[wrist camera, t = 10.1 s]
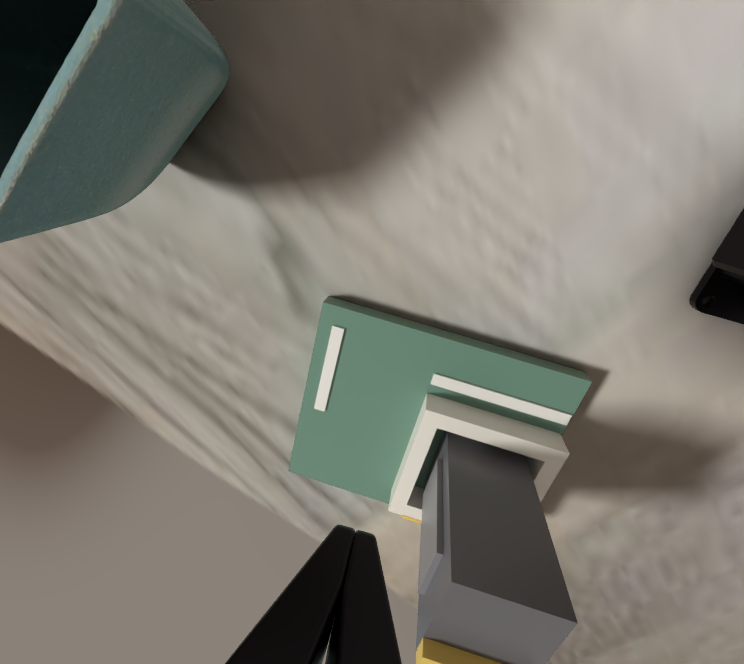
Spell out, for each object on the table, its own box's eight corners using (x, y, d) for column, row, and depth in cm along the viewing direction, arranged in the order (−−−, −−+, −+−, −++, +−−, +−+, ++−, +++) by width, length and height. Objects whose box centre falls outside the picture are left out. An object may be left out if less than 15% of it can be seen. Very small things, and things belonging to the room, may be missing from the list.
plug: (524, 451, 19) (584, 645, 11) (495, 507, 21) (529, 711, 13) (442, 426, 19) (443, 598, 11) (419, 483, 21) (407, 669, 13)
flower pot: (127, -121, 14) (-306, -536, 6) (292, 80, 16) (130, -28, 7) (32, 73, 17) (-335, -22, 9) (176, 223, 19) (-25, 258, 11)
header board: (584, 371, 18) (605, 399, 16) (498, 525, 23) (505, 564, 20) (328, 296, 19) (313, 312, 17) (294, 459, 23) (278, 490, 21)
